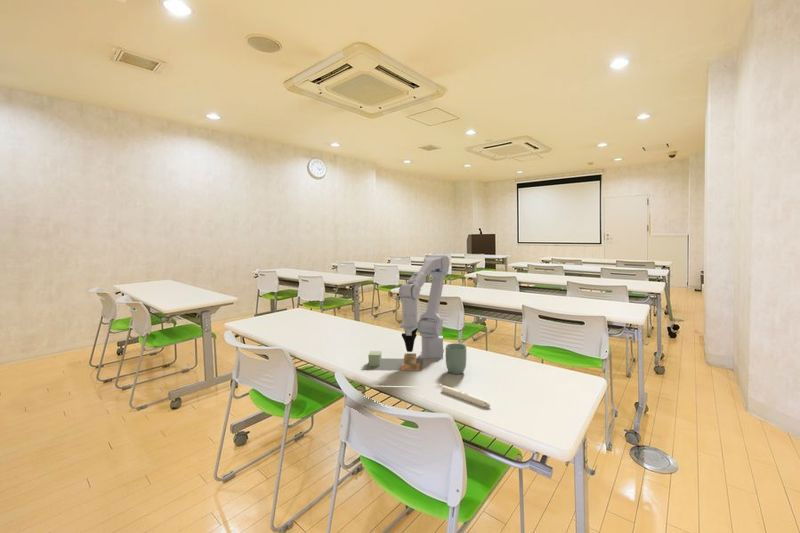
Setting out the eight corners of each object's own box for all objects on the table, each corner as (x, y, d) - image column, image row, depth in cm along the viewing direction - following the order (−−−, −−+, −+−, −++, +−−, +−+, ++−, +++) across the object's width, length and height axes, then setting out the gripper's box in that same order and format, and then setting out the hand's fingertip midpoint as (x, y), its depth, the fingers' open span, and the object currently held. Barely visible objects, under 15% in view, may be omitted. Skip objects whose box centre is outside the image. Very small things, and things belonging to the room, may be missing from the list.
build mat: (422, 360, 149) (422, 358, 149) (421, 372, 136) (421, 370, 136) (370, 359, 151) (370, 358, 151) (364, 371, 139) (364, 369, 139)
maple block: (416, 364, 143) (416, 353, 142) (415, 368, 138) (415, 357, 138) (405, 364, 143) (404, 353, 143) (404, 368, 139) (403, 357, 138)
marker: (492, 408, 108) (492, 400, 108) (489, 410, 107) (489, 403, 106) (445, 390, 121) (445, 383, 120) (441, 392, 119) (441, 385, 119)
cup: (467, 369, 138) (467, 344, 138) (465, 377, 131) (465, 350, 130) (447, 367, 140) (447, 342, 140) (444, 375, 133) (444, 349, 132)
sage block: (381, 361, 147) (381, 351, 146) (379, 366, 142) (379, 354, 142) (370, 361, 147) (370, 351, 147) (368, 365, 143) (368, 354, 142)
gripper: (401, 310, 147) (401, 342, 148) (397, 318, 132) (398, 354, 133) (418, 310, 146) (418, 342, 147) (416, 318, 131) (417, 354, 133)
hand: (410, 348), depth 140 cm, fingers open, 7 cm apart
